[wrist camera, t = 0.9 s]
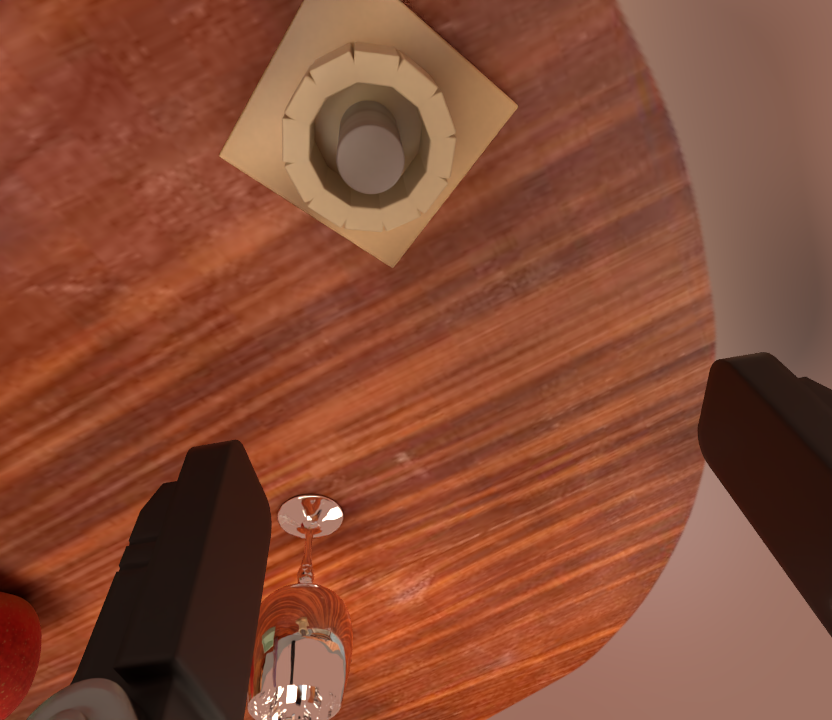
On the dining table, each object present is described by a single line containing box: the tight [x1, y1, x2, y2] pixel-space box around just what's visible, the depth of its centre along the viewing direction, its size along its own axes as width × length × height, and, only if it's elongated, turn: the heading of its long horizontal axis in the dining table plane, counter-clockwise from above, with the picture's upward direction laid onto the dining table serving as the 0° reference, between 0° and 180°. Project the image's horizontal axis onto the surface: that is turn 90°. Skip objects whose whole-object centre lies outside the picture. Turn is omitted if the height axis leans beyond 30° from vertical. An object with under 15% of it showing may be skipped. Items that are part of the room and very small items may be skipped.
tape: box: [282, 42, 456, 232], centre depth 22 cm, size 6×6×3 cm
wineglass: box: [247, 495, 353, 720], centre depth 33 cm, size 6×6×12 cm
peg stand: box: [219, 0, 518, 268], centre depth 22 cm, size 9×9×6 cm
